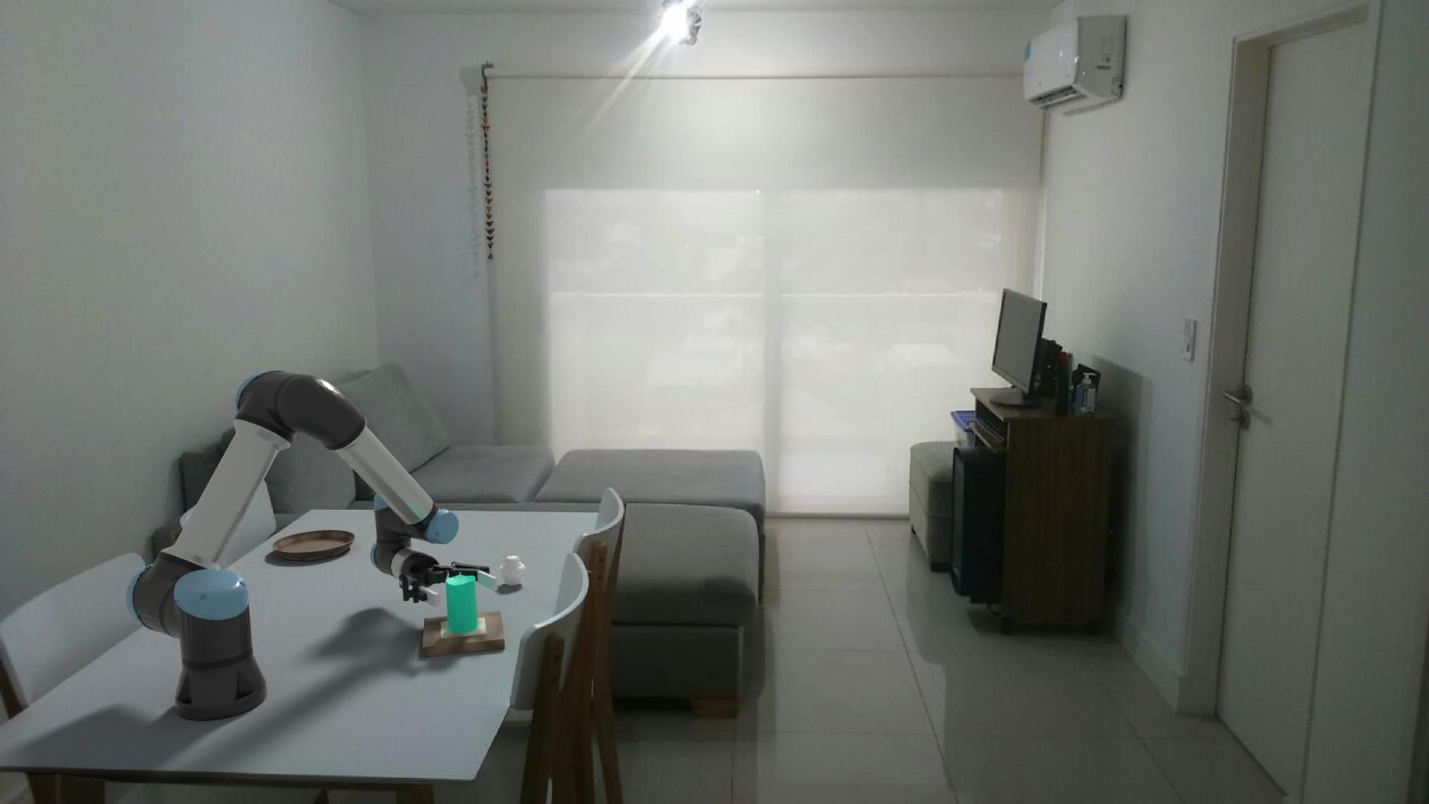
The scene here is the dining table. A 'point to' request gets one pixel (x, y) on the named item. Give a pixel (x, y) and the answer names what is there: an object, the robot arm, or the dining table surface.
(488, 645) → the plinth
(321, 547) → the plant saucer
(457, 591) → the candle
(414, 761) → the dining table surface
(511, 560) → the white rounded piece
